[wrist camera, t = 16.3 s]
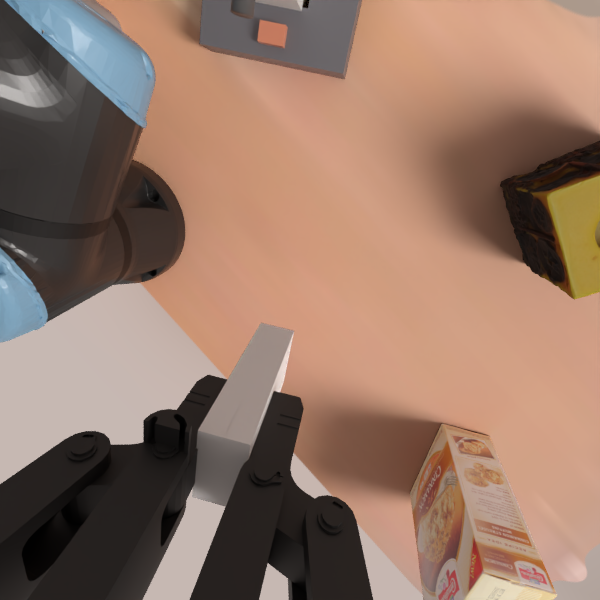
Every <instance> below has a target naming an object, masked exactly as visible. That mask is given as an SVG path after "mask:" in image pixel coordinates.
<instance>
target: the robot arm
mask: <svg viewBox="0 0 600 600" xmlns="http://www.w3.org/2000/svg"><path fill="white" fill-rule="evenodd" d="M155 78H156V77H155V70H154V66H153V64H152V61H151V59H150V58H149V56H148V55H147V53H146V52H145V51H144V50H143V49H142V48H141V47H140V46H139V45H138V44H137V43H136V42H135V41H133V40H132V39H131V38H130V37H129V36H127V35H126V34H125V33H124V32H122V31H121V30H120V29H119V28H117V27H116V26H115V25H113V24H112V23H111V22H110V21H108V20H107V19H106V18H104V17H103V16H102V15H100V14H99V13H98V12H97V11H95V10H94V9H93V8H91V7H90V6H89V5H87V4H86V3H85V2H83V1H82V0H0V342H5V341H8V340H11V339H14V338H16V337H18V336H20V335H23V334H25V333H28V332H30V331H33V330H37V329H39V328H41V327H42V326H44V324H46V322H48V321H49V320H51V319H53V318H55V317H57V316H59V315H60V314H62V313H64V312H66V311H67V310H69V309H71V308H73V307H74V306H76V305H78V304H80V303H82V302H83V301H85V300H87V299H89V298H90V297H92V296H94V295H96V294H97V293H99V292H101V291H103V290H105V289H106V288H108V287H110V286H112V285H116V284H129V283H140V282H145V281H148V280H151V279H153V278H155V277H157V276H159V275H161V274H162V273H164V272H165V271H167V270H168V269H169V268H171V267H172V266H173V265H174V263H175V262H176V261H177V259H178V258H179V256H180V254H181V251H182V249H183V245H184V240H185V223H184V218H183V214H182V210H181V208H180V205H179V203H178V201H177V199H176V197H175V195H174V193H173V192H172V190H171V189H170V187H169V186H168V185H167V184H166V182H165V181H164V180H163V179H162V178H161V177H160V176H159V175H157V174H156V173H155V172H154V171H152V170H151V169H149V168H148V167H146V166H144V165H143V164H140V163H138V162H136V161H133V160H132V159H133V156H134V153H135V150H136V147H137V144H138V141H139V138H140V136H141V133H142V130H143V128H146V126H147V121H146V115H147V111H148V107H149V104H150V100H151V96H152V93H153V89H154V86H155ZM293 334H294V331H293V330H289V329H284V328H280V327H276V326H272V325H268V324H264V323H261V324H260V325H259V327H258V329H257V330H256V332H255V334H254V336H253V337H252V339H251V341H250V342H249V344H248V346H247V347H246V349H245V351H244V353H243V354H242V356H241V358H240V359H239V361H238V363H237V365H236V366H235V368H234V370H233V371H232V373H231V375H230V376H229V378H228V380H227V379H223V378H219V377H215V376H211V375H207V376H205V377H204V378H202V379H200V380H199V381H197V382H196V384H195V385H194V387H193V388H192V389H191V391H190V393H189V394H188V395H187V396H186V398H185V400H184V401H183V402H182V403H181V405H180V406H179V408H178V409H177V410H171V409H167V410H160V411H157V412H155V413H153V414H150V415H149V416H148V417H147V418H146V419H145V420H144V442H143V443H139V444H132V445H110V440H109V438H108V437H107V436H106V435H105V434H103V433H100V432H96V431H86V432H81V433H78V434H75V435H73V436H71V437H69V438H67V439H65V440H64V441H62V442H61V443H59V444H58V445H56V446H55V447H53V448H52V449H51V450H49V451H48V452H46V453H45V454H43V455H42V456H40V457H39V458H38V459H36V460H35V461H34V462H32V463H30V464H29V465H28V466H26V467H25V468H23V469H22V470H20V471H19V472H17V473H16V474H15V475H13V476H12V477H10V478H9V479H7V480H6V481H4V482H3V483H1V484H0V600H142V599H143V597H144V595H145V593H146V591H147V589H148V587H149V585H150V583H151V581H152V579H153V577H154V575H155V573H156V571H157V568H158V567H159V564H160V562H161V560H162V558H163V556H164V554H165V552H166V550H167V548H168V546H169V544H170V542H171V540H172V538H173V536H174V534H175V532H176V530H177V527H178V526H179V524H180V521H181V519H182V517H183V515H184V512H185V508H186V500H187V498H188V496H189V494H190V492H191V490H192V488H193V495H192V496H193V497H194V498H198V499H201V500H205V501H208V502H212V503H215V504H219V505H222V506H226V507H225V510H224V513H223V515H222V518H221V520H220V523H219V526H218V528H217V531H216V533H215V536H214V538H213V541H212V543H211V546H210V549H209V551H208V554H207V556H206V559H205V562H204V564H203V567H202V569H201V572H200V574H199V577H198V580H197V582H196V585H195V587H194V590H193V592H192V595H191V598H190V600H259V597H260V592H261V588H262V584H263V580H264V575H265V571H266V567H267V563H269V564H270V565H271V566H273V567H274V568H275V569H276V570H278V571H279V572H281V573H282V574H283V575H284V576H286V577H287V578H288V590H289V600H373V597H372V592H371V587H370V583H369V578H368V573H367V569H366V564H365V559H364V555H363V550H362V545H361V541H360V536H359V531H358V526H357V522H356V519H355V516H354V514H353V511H352V510H351V509H350V508H349V506H348V505H347V504H346V503H345V502H343V501H342V500H340V499H338V498H337V497H333V496H328V495H327V496H319V497H317V498H315V499H314V498H313V497H311V496H310V495H308V494H306V493H305V492H304V491H302V490H301V489H300V488H299V487H298V486H297V485H296V483H295V482H294V480H293V478H292V476H291V471H290V466H291V460H292V456H293V452H294V447H295V443H296V439H297V435H298V430H299V426H300V422H301V417H302V413H303V409H304V408H303V405H302V402H301V399H300V398H299V397H296V396H292V395H288V394H284V393H280V391H281V388H282V385H283V382H284V378H285V373H286V368H287V363H288V359H289V354H290V349H291V344H292V339H293Z"/></svg>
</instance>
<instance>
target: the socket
mask: <svg viewBox="0 0 600 600" xmlns="http://www.w3.org/2000/svg"><path fill="white" fill-rule="evenodd" d="M361 2H362V0H309V6H308V8H303V7H302V11H298V10H293V9H288V8H283V7H278V6H273V5H268V4H263V3H258V2H255V7H254V16H253V18H252V19H248V18H243V17H239V16H237V15H235V14H233V13H231V12H230V10H231V0H202V13H201V28H200V43H199V44H201V45H202V46H204V47H206V48H207V49H209V50H211V51H213V52H218V53H223V54H228V55H232V56H237V57H242V58H246V59H251V60H256V61H261V62H265V63H270V64H275V65H280V66H284V67H289V68H294V69H299V70H303V71H308V72H313V73H317V74H322V75H327V76H332V77H336V78H341V79H345V76H346V71H347V67H348V62H349V57H350V53H351V48H352V44H353V39H354V35H355V30H356V25H357V21H358V16H359V12H360V7H361Z"/></svg>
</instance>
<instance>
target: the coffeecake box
mask: <svg viewBox="0 0 600 600" xmlns="http://www.w3.org/2000/svg"><path fill="white" fill-rule="evenodd" d="M410 497H411V505H412V512H413V520H414V527H415V535H416V543H417V551H418V559H419V568H420V576H421V584H422V592H423V600H553V599H554V598H555V597H556V596H557V593H556V592H555V590H554V587H553V585H552V583H551V580H550V578H549V576H548V573H547V571H546V569H545V566H544V564H543V561H542V559H541V556H540V554H539V552H538V549H537V547H536V545H535V542H534V540H533V537H532V535H531V533H530V530H529V528H528V526H527V523H526V521H525V519H524V516H523V514H522V512H521V509H520V507H519V504H518V502H517V500H516V497H515V495H514V493H513V490H512V488H511V485H510V483H509V481H508V478H507V476H506V473H505V471H504V469H503V466H502V464H501V462H500V459H499V457H498V455H497V452H496V450H495V447H494V445H493V443H492V440H491V437H490V436H486V435H483V434H479V433H474V432H470V431H467V430H464V429H461V428H458V427H454V426H450V425H446V424H441V426H440V429H439V431H438V433H437V435H436V437H435V439H434V441H433V444H432V446H431V448H430V450H429V452H428V455H427V457H426V459H425V461H424V463H423V466H422V468H421V470H420V472H419V474H418V477H417V479H416V481H415V483H414V485H413V488H412V490H411V492H410Z"/></svg>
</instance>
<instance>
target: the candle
mask: <svg viewBox="0 0 600 600" xmlns="http://www.w3.org/2000/svg"><path fill="white" fill-rule="evenodd" d="M500 187H501V188H503V190H504V191H503V193H504V198H505V200H506V207H507V209H508V211H509V215H510V219H511V223H512V225H513V227H514V228H515V229H514V233H515V234H516V238H517V239H518V241H519V244H520V247H521V249H522V252H523V260H524V262H525V263H526V265H527V266H529V267H530V268H531V270H532V272H534V273H535V274H538V275H539V276H540V277H542V278H545V279H547V280H548V281H550V282H551V283H553V284H554V285H555V286H559V288H560V289H561V290H563V291H564V292H566V293H567V294H568V295H569V296H570V297H572V298H573V299H577V298H581V297H585V296H588V295H591V294H594V293H598V292H600V141H599V142H596V143H594V144H592V145H589V146H587V147H584V148H582V149H577V150H575V151H574V152H570V153H568V154H565V155H563V156H561V157H559V158H556V159H553V160H551V161H548V162H546V164H545V165H544V164H540V165H539V167H538V168H537V170H536V171H534V172H532V173H528V174H524V175H519V176H513V177H512V178H509V179H506V180H505V181H502V182H501V185H500Z"/></svg>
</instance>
